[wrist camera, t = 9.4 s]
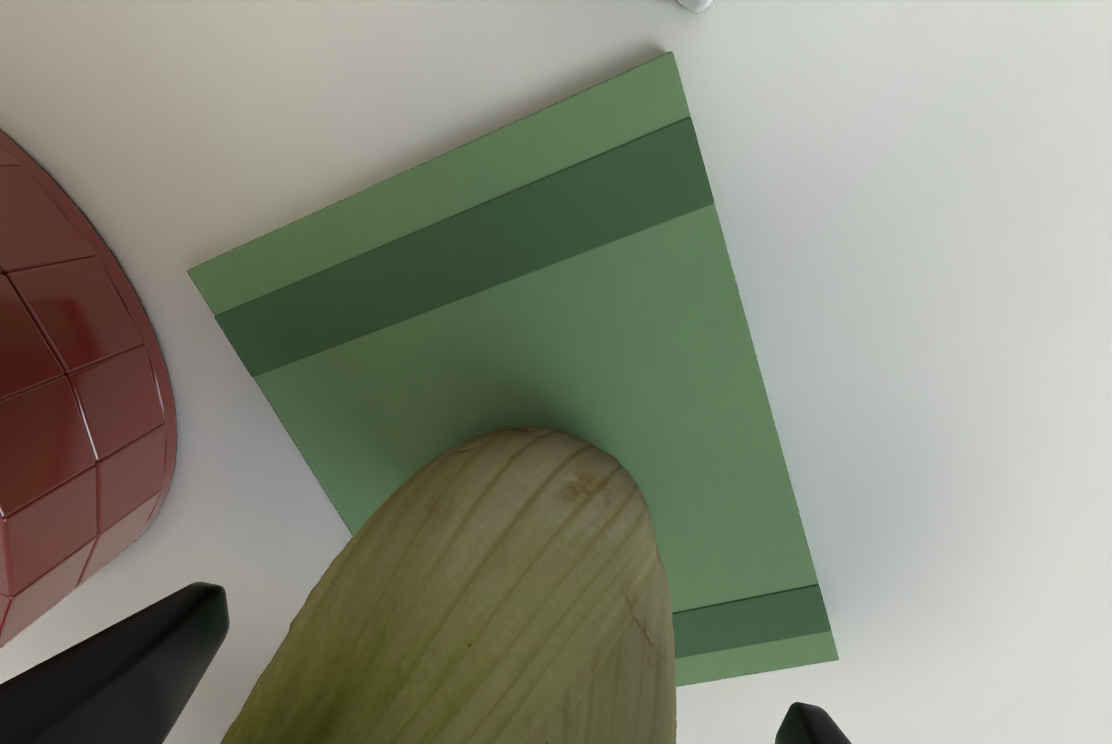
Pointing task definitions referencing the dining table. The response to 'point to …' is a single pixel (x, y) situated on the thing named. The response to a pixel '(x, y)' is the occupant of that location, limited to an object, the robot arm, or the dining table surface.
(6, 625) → the bowl
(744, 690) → the dining table surface
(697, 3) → the syrup box
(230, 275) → the tea towel
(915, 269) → the dining table surface
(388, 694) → the fennel bulb
